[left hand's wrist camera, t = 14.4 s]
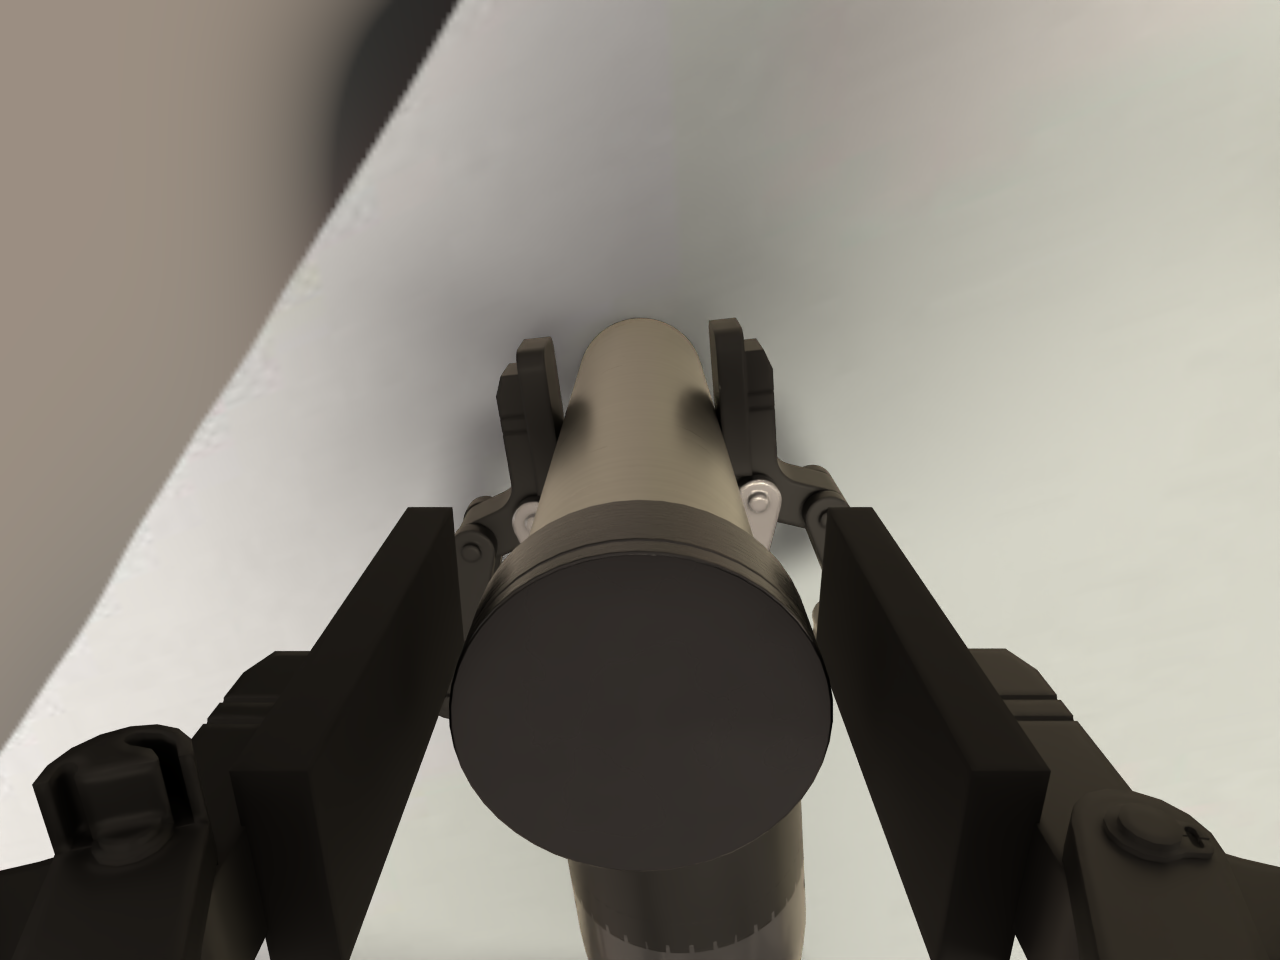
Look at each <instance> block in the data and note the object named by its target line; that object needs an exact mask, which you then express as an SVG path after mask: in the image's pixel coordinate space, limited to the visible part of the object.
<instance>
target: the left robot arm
mask: <svg viewBox="0 0 1280 960" xmlns="http://www.w3.org/2000/svg"><path fill="white" fill-rule="evenodd" d="M816 641H817V644H818V647H819V649H820V652H821V655H822V657H823V660H824V663H825V666H826V670H827V673H828V676H829V679H830V685H831V689H832V691H833V694H834V697H835V700H836V702H837V705H838V708H839V711H840V713H841V716H842V719H843V721H844V724H845V727H846V730H847V732H848V735H849V738H850V741H851V743H852V746H853V749H854V751H855V754H856V757H857V760H858V762H859V765H860V768H861V771H862V773H863V776H864V779H865V782H866V784H867V787H868V790H869V792H870V795H871V798H872V801H873V803H874V806H875V809H876V812H877V814H878V817H879V820H880V823H881V825H882V828H883V831H884V833H885V836H886V839H887V842H888V844H889V847H890V850H891V853H892V855H893V858H894V861H895V864H896V866H897V869H898V872H899V874H900V877H901V880H902V883H903V885H904V888H905V891H906V894H907V896H908V899H909V902H910V905H911V907H912V910H913V913H914V915H915V918H916V921H917V924H918V926H919V929H920V932H921V935H922V937H923V940H924V943H925V945H926V948H927V951H928V954H929V956H930V959H931V960H1010V956H1011V951H1012V947H1013V942H1014V938H1015V935H1016V937H1017V939H1018V941H1019V943H1020V945H1021V947H1022V949H1023V951H1024V953H1025V956H1026V958H1027V960H1280V867H1277V866H1273V865H1268V864H1264V863H1259V862H1255V861H1251V860H1246V859H1242V858H1239V857H1235V856H1232V855H1229V854H1225V852H1224V851H1223V849H1222V848H1221V846H1220V845H1219V843H1218V842H1217V841H1216V839H1215V838H1214V836H1213V835H1212V833H1211V832H1209V831H1208V830H1207V829H1206V828H1205V827H1203V826H1202V825H1201V824H1200V823H1199V822H1197V821H1196V820H1195V819H1194V818H1192V817H1191V816H1190V815H1189V814H1187V813H1185V812H1183V811H1181V810H1179V809H1178V808H1176V807H1174V806H1172V805H1170V804H1168V803H1166V802H1164V801H1162V800H1160V799H1157V798H1154V797H1150V796H1147V795H1144V794H1141V793H1137V792H1134V791H1132V790H1131V789H1130V787H1129V786H1128V785H1127V783H1126V782H1125V781H1124V780H1123V778H1122V777H1121V776H1120V775H1119V773H1118V772H1117V771H1116V769H1115V768H1114V767H1113V766H1112V764H1111V763H1110V762H1109V761H1108V759H1107V758H1106V757H1105V756H1104V754H1103V753H1102V752H1101V750H1100V749H1099V748H1098V747H1097V745H1096V744H1095V743H1094V742H1093V740H1092V739H1091V738H1090V736H1089V735H1088V734H1087V733H1086V731H1085V730H1084V729H1083V728H1082V726H1081V725H1080V724H1079V722H1078V721H1074V720H1073V715H1072V714H1071V712H1070V711H1069V710H1068V709H1067V707H1066V706H1065V705H1064V703H1063V702H1062V701H1061V700H1057V695H1056V693H1055V692H1054V691H1053V689H1052V688H1051V687H1050V686H1049V684H1048V683H1047V682H1046V681H1045V679H1044V678H1043V677H1042V675H1041V674H1040V673H1039V672H1038V670H1036V669H1035V668H1033V667H1032V666H1031V665H1029V664H1028V663H1026V662H1025V661H1023V660H1022V659H1020V658H1019V657H1017V656H1016V655H1014V654H1013V653H1011V652H1010V651H1008V650H1007V649H968V648H967V646H966V645H965V643H964V642H963V641H962V639H961V638H960V636H959V635H958V633H957V632H956V630H955V629H954V627H953V626H952V624H951V623H950V621H949V620H948V618H947V617H946V615H945V614H944V613H943V611H942V610H941V608H940V607H939V605H938V604H937V602H936V601H935V599H934V598H933V596H932V595H931V593H930V592H929V590H928V589H927V587H926V586H925V585H924V583H923V582H922V580H921V579H920V577H919V576H918V574H917V573H916V571H915V570H914V568H913V567H912V565H911V564H910V562H909V561H908V559H907V558H906V557H905V555H904V554H903V552H902V551H901V549H900V548H899V546H898V545H897V543H896V542H895V540H894V539H893V537H892V536H891V534H890V533H889V531H888V530H887V529H886V527H885V526H884V524H883V523H882V521H881V520H880V518H879V517H878V515H877V514H876V512H875V511H874V509H873V508H872V507H828V509H827V521H826V532H825V543H824V555H823V566H822V578H821V589H820V600H819V612H818V623H817V635H816ZM463 646H464V635H463V623H462V612H461V601H460V589H459V578H458V566H457V555H456V544H455V532H454V521H453V509H452V507H408V508H407V509H406V511H405V512H404V514H403V515H402V517H401V518H400V520H399V521H398V523H397V524H396V526H395V527H394V529H393V530H392V531H391V533H390V534H389V536H388V537H387V539H386V540H385V542H384V543H383V545H382V546H381V548H380V549H379V551H378V552H377V554H376V555H375V557H374V558H373V559H372V561H371V562H370V564H369V565H368V567H367V568H366V570H365V571H364V573H363V574H362V576H361V577H360V579H359V580H358V582H357V583H356V585H355V586H354V587H353V589H352V590H351V592H350V593H349V595H348V596H347V598H346V599H345V601H344V602H343V604H342V605H341V607H340V608H339V610H338V611H337V613H336V614H335V615H334V617H333V618H332V620H331V621H330V623H329V624H328V626H327V627H326V629H325V630H324V632H323V633H322V635H321V636H320V638H319V639H318V640H317V642H316V643H315V645H314V646H313V648H312V649H311V651H275V652H273V653H272V654H270V655H269V656H267V657H266V658H264V659H263V660H261V661H260V662H258V663H257V664H255V665H254V666H252V667H251V668H249V669H248V670H247V671H245V672H244V673H243V674H242V675H241V676H240V678H239V679H238V680H237V681H236V683H235V684H234V685H233V687H232V688H231V689H230V690H229V692H228V693H227V694H226V695H225V697H224V701H223V703H219V704H218V706H217V707H216V708H215V710H214V711H213V712H212V713H211V715H210V716H209V717H208V718H207V720H208V721H207V724H203V725H202V726H201V727H200V729H199V730H198V731H197V733H196V734H195V735H194V736H193V738H192V739H191V738H189V737H188V736H187V735H186V734H185V733H183V732H182V731H181V730H180V729H178V728H173V727H168V726H163V725H158V724H155V725H142V726H130V727H126V728H123V729H119V730H115V731H112V732H108V733H105V734H101V735H99V736H96V737H94V738H92V739H90V740H88V741H86V742H84V743H81V744H79V745H77V746H75V747H73V748H71V749H70V750H68V751H67V752H65V753H64V754H63V755H61V756H60V757H58V758H57V759H56V760H54V761H53V762H52V763H50V764H49V765H47V767H46V768H45V769H44V770H43V772H42V773H41V774H40V775H39V777H38V778H37V779H36V780H35V782H34V783H33V784H32V786H33V789H34V792H35V795H36V798H37V801H38V804H39V807H40V810H41V813H42V816H43V819H44V823H45V826H46V829H47V832H48V835H49V838H50V841H51V844H52V847H53V850H54V853H55V855H54V858H50V859H47V860H43V861H40V862H36V863H32V864H27V865H23V866H19V867H14V868H10V869H6V870H1V871H0V960H255V958H256V956H257V954H258V952H259V949H260V947H261V945H262V943H263V941H264V939H265V938H266V942H267V947H268V951H269V956H270V960H349V959H350V956H351V954H352V951H353V948H354V945H355V943H356V940H357V937H358V935H359V932H360V929H361V926H362V924H363V921H364V918H365V915H366V913H367V910H368V907H369V904H370V902H371V899H372V896H373V894H374V891H375V888H376V885H377V883H378V880H379V877H380V874H381V872H382V869H383V866H384V863H385V861H386V858H387V855H388V853H389V850H390V847H391V844H392V842H393V839H394V836H395V833H396V831H397V828H398V825H399V822H400V820H401V817H402V814H403V812H404V809H405V806H406V803H407V801H408V798H409V795H410V792H411V790H412V787H413V784H414V782H415V779H416V776H417V773H418V771H419V768H420V765H421V762H422V760H423V757H424V754H425V751H426V749H427V746H428V743H429V741H430V738H431V735H432V732H433V730H434V727H435V724H436V721H437V719H438V716H439V713H440V710H441V708H442V705H443V702H444V700H445V697H446V694H447V691H448V689H449V686H450V683H451V680H452V678H453V675H454V672H455V669H456V665H457V662H458V660H459V657H460V654H461V651H462V649H463Z"/></svg>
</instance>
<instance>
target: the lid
mask: <svg viewBox="0 0 1280 960" xmlns="http://www.w3.org/2000/svg"><path fill="white" fill-rule="evenodd" d="M832 723H833V697H832V691H831V685H830V679H829V676H828V673H827V670H826V666H825V663H824V660H823V657H822V655H821V652H820V649H819V647H818V644H817V641H816V638H815V636H814V633H813V630H812V628H811V625H810V622H809V619H808V617H807V614H806V611H805V609H804V606H803V603H802V601H801V598H800V595H799V593H798V591H797V589H796V588H795V586H794V584H793V582H792V580H791V578H790V576H789V575H788V574H787V572H786V571H785V569H784V568H783V566H782V565H781V564H780V562H779V561H778V560H777V559H776V558H775V557H774V556H773V555H772V553H771V552H770V551H769V550H768V549H767V548H766V547H765V546H764V545H763V544H761V543H760V542H759V541H758V540H756V539H755V538H754V537H753V536H751V535H750V534H749V533H748V532H746V531H744V530H743V529H741V528H740V527H738V526H736V525H735V524H733V523H731V522H730V521H728V520H726V519H723V518H721V517H719V516H717V515H714V514H712V513H710V512H707V511H704V510H701V509H698V508H694V507H691V506H687V505H684V504H678V503H672V502H666V501H655V500H628V501H615V502H609V503H604V504H599V505H594V506H590V507H587V508H584V509H581V510H578V511H575V512H572V513H569V514H567V515H565V516H563V517H561V518H559V519H557V520H555V521H552V522H550V523H548V524H547V525H545V526H544V527H542V528H541V529H539V530H538V531H536V532H535V533H533V534H532V535H530V536H529V537H528V538H527V539H525V540H524V541H523V542H522V543H521V544H520V545H518V546H517V547H516V548H515V549H514V550H513V551H512V552H511V553H510V554H509V555H508V557H507V558H506V559H505V560H504V561H503V562H502V563H501V565H500V566H499V567H498V569H497V570H496V572H495V573H494V575H493V577H492V578H491V580H490V581H489V583H488V585H487V587H486V589H485V591H484V594H483V596H482V598H481V600H480V603H479V605H478V608H477V611H476V613H475V616H474V619H473V622H472V624H471V627H470V630H469V632H468V635H467V638H466V641H465V643H464V646H463V649H462V651H461V654H460V657H459V660H458V662H457V665H456V669H455V673H454V676H453V680H452V683H451V690H450V699H449V724H450V731H451V736H452V741H453V746H454V749H455V752H456V755H457V757H458V760H459V763H460V766H461V768H462V770H463V772H464V774H465V776H466V777H467V779H468V781H469V783H470V785H471V787H472V788H473V789H474V791H475V792H476V793H477V795H478V796H479V797H480V799H481V800H482V802H483V803H484V804H485V805H486V806H487V807H488V808H489V809H490V810H491V811H492V812H493V813H494V814H495V816H496V817H497V818H498V819H500V820H501V821H502V822H503V823H504V824H506V825H507V826H508V827H509V828H511V829H512V830H513V831H514V832H516V833H517V834H519V835H520V836H522V837H523V838H525V839H527V840H528V841H530V842H531V843H533V844H534V845H537V846H539V847H541V848H543V849H545V850H547V851H549V852H551V853H553V854H555V855H558V856H561V857H564V858H566V859H569V860H572V861H575V862H578V863H582V864H587V865H591V866H595V867H599V868H607V869H614V870H621V871H657V870H669V869H675V868H682V867H688V866H692V865H696V864H699V863H703V862H707V861H710V860H713V859H716V858H718V857H721V856H724V855H726V854H729V853H731V852H734V851H736V850H737V849H739V848H741V847H743V846H745V845H747V844H749V843H751V842H753V841H754V840H756V839H757V838H759V837H760V836H762V835H763V834H765V833H766V832H768V831H769V830H771V829H772V828H773V827H774V826H775V825H776V824H778V823H779V822H780V821H781V820H782V819H783V818H784V817H786V816H787V815H788V814H789V813H790V811H791V810H792V809H793V808H794V807H795V806H796V805H797V804H798V803H799V801H800V800H801V799H802V798H803V796H804V795H805V793H806V792H807V790H808V789H809V787H810V786H811V785H812V783H813V782H814V780H815V778H816V776H817V774H818V771H819V769H820V767H821V765H822V763H823V761H824V757H825V754H826V751H827V748H828V745H829V742H830V736H831V730H832Z"/></svg>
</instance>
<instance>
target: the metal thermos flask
mask: <svg viewBox="0 0 1280 960" xmlns="http://www.w3.org/2000/svg"><path fill="white" fill-rule="evenodd" d="M628 500H655V501H666V502H672V503H678V504H684V505H687V506H691V507H694V508H698V509H701V510H704V511H707V512H710V513H712V514H714V515H717V516H719V517H721V518H723V519H726V520H728V521H730V522H731V523H733V524H735V525H736V526H738V527H740V528H741V529H743V530H744V531H746V532H748V533H749V534H750V535H751V536H753V534H752V531H751V527H750V524H749V521H748V518H747V514H746V511H745V508H744V504H743V501H742V498H741V494H740V491H739V488H738V485H737V481H736V478H735V475H734V471H733V468H732V465H731V461H730V458H729V455H728V452H727V448H726V445H725V442H724V438H723V435H722V432H721V429H720V425H719V422H718V419H717V415H716V412H715V409H714V405H713V402H712V399H711V396H710V392H709V389H708V386H707V382H706V379H705V376H704V372H703V369H702V366H701V363H700V360H699V357H698V354H697V352H696V350H695V348H694V347H693V346H692V344H691V343H690V341H689V340H688V339H687V338H686V337H685V336H684V335H683V334H682V333H681V332H680V331H678V330H677V329H675V328H674V327H672V326H670V325H668V324H666V323H664V322H661V321H658V320H654V319H648V318H635V319H628V320H624V321H621V322H618V323H615V324H613V325H611V326H609V327H608V328H606V329H605V330H603V331H602V332H601V333H600V334H599V335H598V336H596V337H595V339H594V340H593V341H592V342H591V343H590V345H589V346H588V348H587V350H586V352H585V354H584V356H583V358H582V362H581V365H580V368H579V372H578V375H577V378H576V382H575V385H574V388H573V391H572V395H571V398H570V401H569V405H568V408H567V411H566V415H565V418H564V421H563V425H562V428H561V431H560V435H559V438H558V441H557V444H556V448H555V451H554V454H553V458H552V461H551V464H550V468H549V471H548V474H547V478H546V481H545V484H544V487H543V491H542V494H541V497H540V501H539V504H538V507H537V511H536V514H535V517H534V521H533V524H532V527H531V531H530V534H529V536H530V535H532V534H533V533H535V532H536V531H538V530H539V529H541V528H542V527H544V526H545V525H547V524H548V523H550V522H552V521H555V520H557V519H559V518H561V517H563V516H565V515H567V514H569V513H572V512H575V511H578V510H581V509H584V508H587V507H590V506H594V505H599V504H604V503H609V502H615V501H628Z"/></svg>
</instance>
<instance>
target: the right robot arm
mask: <svg viewBox="0 0 1280 960" xmlns="http://www.w3.org/2000/svg"><path fill="white" fill-rule="evenodd" d="M709 338H710V352H711V365H712V378H713V392H714V405H715V412H716V415H717V419H718V422H719V425H720V429H721V432H722V435H723V438H724V442H725V445H726V448H727V452H728V455H729V458H730V461H731V465H732V468H733V471H734V475H735V478H736V481H737V485H738V488H739V491H740V494H741V498H742V501H743V504H744V508H745V511H746V514H747V518H748V521H749V524H750V527H751V531H752V534H753V537H754V538H755V539H756V540H758V541H759V542H760V543H761V544H763V545H764V546H765V547H766V548H767V549H768V550H770V546H771V543H772V539H773V535H774V531H775V527H776V524H777V522H780V523H785V524H789V525H793V526H797V527H802V528H805V529H806V531H807V534H808V536H809V539H810V541H811V544H812V546H813V549H814V551H815V554H816V556H817V559H818V561H819V564H820V566H821V569H822V566H823V555H824V543H825V532H826V521H827V509H828V507H850V506H849V505H848V503H847V502H846V500H845V498H844V497H843V495H842V493H841V492H840V490H839V488H838V487H837V485H836V483H835V482H834V480H833V479H832V477H831V475H830V474H829V472H828V471H827V470H826V469H824V468H823V467H821V466H817V465H808V466H804V467H799V466H795V465H791V464H788V463H785V462H783V461H781V460H780V459H778V458H777V447H776V426H775V409H774V385H773V368H772V366H771V364H770V362H769V360H768V358H767V356H766V354H765V352H764V350H763V348H762V347H761V345H760V344H759V342H758V341H757V339H756V338H755V339H745V340H744V337H743V331H742V327H741V326H740V324H739V322H738V321H737V319H736V318H728V319H719V320H709ZM516 361H517V363H510V364H509V365H508V366H507V368H506V369H505V371H504V372H503V374H502V375H501V378H500V382H499V386H498V391H497V395H496V399H497V404H498V410H499V416H500V419H501V420H500V421H501V427H502V432H503V439H504V444H505V450H506V456H507V462H508V467H509V473H510V479H511V486H512V487H511V488H509V489H508V490H506V491H505V492H503V493H501V494H498V495H496V496H494V497H491V496H482V497H479V498H476V499H475V500H473V501H472V502H471V503H470V505H469V506H468V508H467V510H466V513H465V515H464V520H463V522H462V524H461V526H460V528H459V529H458V530H457V531H456V533H455V544H456V555H457V566H458V578H459V589H460V601H461V612H462V623H463V635H464V643H465V641H466V638H467V635H468V632H469V630H470V627H471V624H472V622H473V619H474V616H475V613H476V611H477V608H478V605H479V603H480V600H481V598H482V596H483V594H484V591H485V589H486V587H487V585H488V583H489V581H490V580H491V578H492V577H493V575H494V573H495V572H496V570H497V569H498V567H499V566H500V565H501V562H502V556H503V555H505V554H507V553H510V552H512V551H513V550H514V549H515V548H516V547H517V546H518V545H520V544H521V543H522V542H523V541H524V540H525V539H527V538H528V537H529V534H530V531H531V527H532V524H533V521H534V517H535V514H536V511H537V507H538V504H539V501H540V497H541V494H542V491H543V487H544V484H545V481H546V478H547V474H548V471H549V468H550V464H551V461H552V458H553V454H554V451H555V448H556V444H557V441H558V438H559V435H560V431H561V428H562V425H563V421H564V414H563V407H562V400H561V393H560V386H559V379H558V372H557V365H556V359H555V352H554V346H553V341H552V338H551V337H543V338H533V339H524V340H523V342H522V343H521V345H520V346H519V348H518V349H517V354H516ZM818 612H819V602H818V603H817V604H816V605H815V607H814V609H813V612H812V619H813V624H814V627H813V633H814V636H815V638H816V635H817V623H818ZM454 673H455V672H454ZM453 676H454V675H453ZM452 680H453V678H452ZM452 680H451V683H452ZM451 683H450V686H449V689H448V691H447V694H446V697H445V700H444V702H443V705H442V708H441V710H440V713H439V716H441V717H444V718H448V719H449V699H450V690H451ZM568 863H569V869H570V875H571V880H572V886H573V891H574V897H575V903H576V908H577V914H578V920H579V925H580V930H581V934H582V939H583V943H584V947H585V951H586V954H587V957H588V960H801V955H802V949H803V942H804V933H805V924H806V904H805V880H804V857H803V836H802V812H801V800H800V801H799V803H798V804H797V805H796V806H795V807H794V808H793V809H792V810H791V811H790V813H789V814H788V815H787V816H786V817H784V818H783V819H782V820H781V821H780V822H779V823H778V824H776V825H775V826H774V827H773V828H772V829H771V830H769V831H768V832H766V833H765V834H763V835H762V836H760V837H759V838H757V839H756V840H754V841H753V842H751V843H749V844H747V845H745V846H743V847H741V848H739V849H737V850H736V851H734V852H731V853H729V854H726V855H724V856H721V857H718V858H716V859H713V860H710V861H707V862H703V863H699V864H696V865H692V866H688V867H682V868H675V869H669V870H657V871H621V870H614V869H607V868H599V867H595V866H591V865H587V864H582V863H578V862H575V861H572V860H569V859H568Z"/></svg>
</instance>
